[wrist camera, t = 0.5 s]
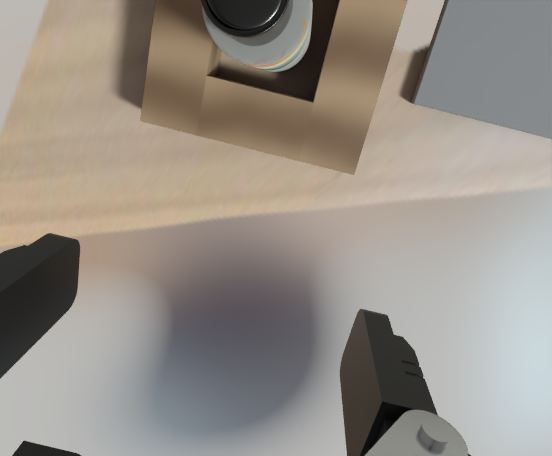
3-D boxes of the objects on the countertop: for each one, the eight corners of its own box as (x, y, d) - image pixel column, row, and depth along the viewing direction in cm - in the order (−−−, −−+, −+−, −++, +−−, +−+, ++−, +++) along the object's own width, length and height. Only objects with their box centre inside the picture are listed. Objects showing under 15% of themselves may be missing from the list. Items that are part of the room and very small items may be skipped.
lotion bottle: (256, -14, 35) (195, -129, 16) (321, 13, 35) (338, -67, 16) (233, 57, 36) (154, 30, 18) (295, 82, 37) (282, 82, 18)
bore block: (189, -119, 33) (174, -145, 29) (417, -60, 33) (431, -78, 29) (156, 117, 39) (140, 120, 35) (349, 165, 39) (354, 174, 35)
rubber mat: (468, -71, 32) (474, -77, 31) (632, -28, 33) (644, -32, 31) (410, 102, 37) (414, 103, 36) (556, 139, 37) (564, 141, 36)
